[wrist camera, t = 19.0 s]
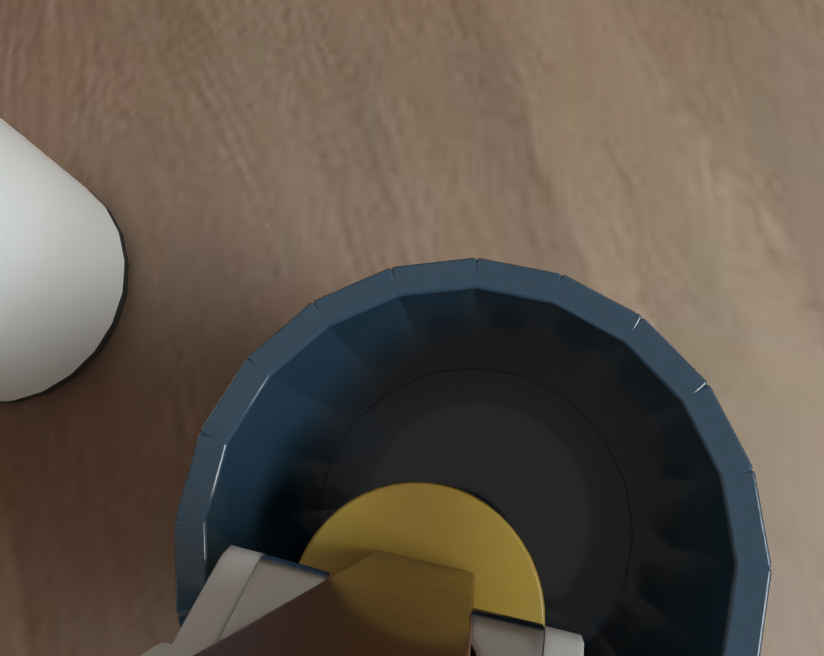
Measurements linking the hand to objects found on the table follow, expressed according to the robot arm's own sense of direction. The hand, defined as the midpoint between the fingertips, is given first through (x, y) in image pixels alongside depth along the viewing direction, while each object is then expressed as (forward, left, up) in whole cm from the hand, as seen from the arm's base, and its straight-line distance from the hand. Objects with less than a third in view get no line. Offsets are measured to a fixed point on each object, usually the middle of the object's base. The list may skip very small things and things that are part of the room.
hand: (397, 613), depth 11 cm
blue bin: (-1, -1, -12) cm, 12 cm away
